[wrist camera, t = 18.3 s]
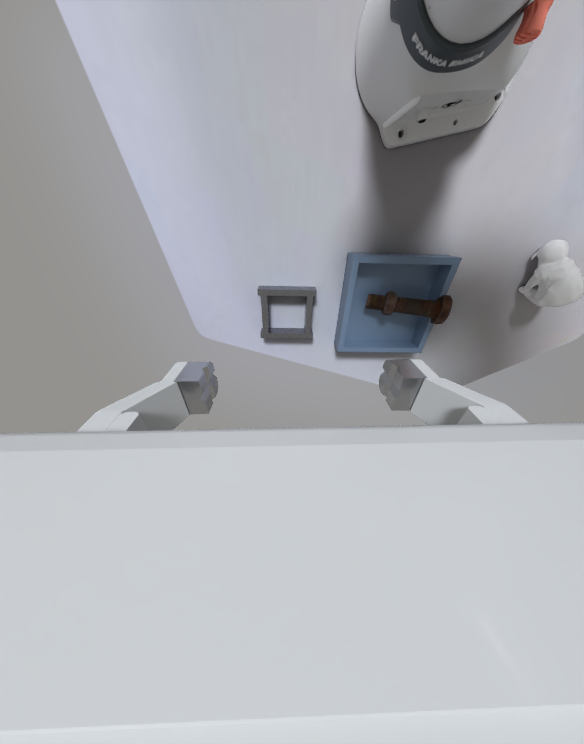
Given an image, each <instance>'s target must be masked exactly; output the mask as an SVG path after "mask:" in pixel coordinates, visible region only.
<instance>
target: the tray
mask: <svg viewBox="0 0 584 744" xmlns="http://www.w3.org/2000/svg"><path fill="white" fill-rule="evenodd" d="M461 259H462V258H460V257H454V256H449V255H425V254H384V253H348V256H347V262H346V269H345V275H344V282H343V288H342V295H341V301H340V308H339V314H338V321H337V327H336V334H335V341H334V344H335V347H336V349H337V352H396V353H421V352H422V349H423V347H424V345H425V342H426V340H427V338H428V335H429V333H430V331H431V328H432V326H433V324H432V323H431V318H427V317H423V316H417V315H410V314H403V313H402V314H401V313H398V312H397V313H396V312H395V313H394V312H393V313H392V315H383V314H382V313H381V312H382V311H381V310H380V311H379V310H376V309H375V310H374V309H368V308H367V309H366V307H365V306H366V302H367V298H368V295H369V294H376V295H377V294H378V295H379V294H380V295H383V296H384V295H385V296H386V293H387V292H389V291H392V292H396V293H397V297H402V298H403V297H404V298H405V297H406V298H411V299H412V298H413V299H414V298H415V299H422V300H423V299H424V300H437V298H439V297H441V296H443V295H446V293H447V291H448V289H449V287H450V284H451V282H452V280H453V277H454V275H455V273H456V270H457V268H458V266H459V263H460V261H461Z"/></svg>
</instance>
